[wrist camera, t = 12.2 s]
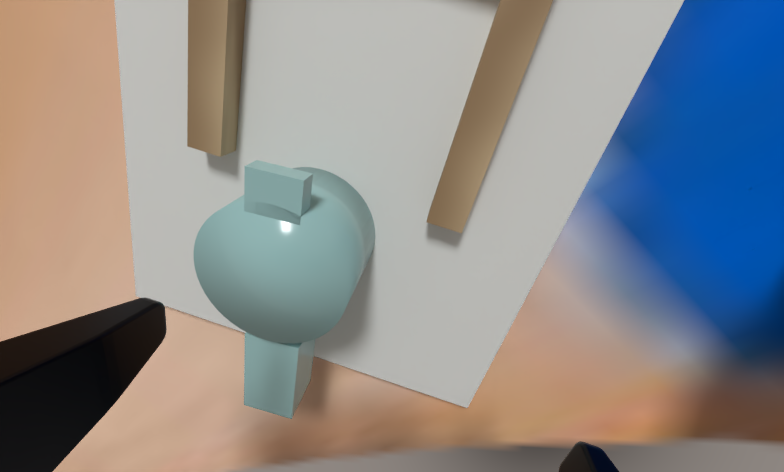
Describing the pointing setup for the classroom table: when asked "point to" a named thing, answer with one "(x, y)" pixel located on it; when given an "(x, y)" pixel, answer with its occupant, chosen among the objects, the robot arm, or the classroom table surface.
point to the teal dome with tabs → (284, 271)
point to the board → (385, 157)
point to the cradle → (475, 128)
